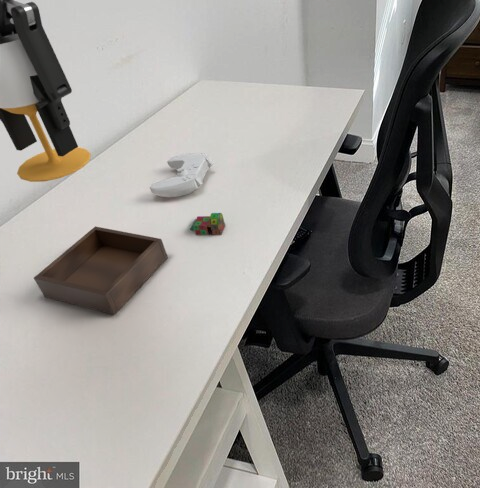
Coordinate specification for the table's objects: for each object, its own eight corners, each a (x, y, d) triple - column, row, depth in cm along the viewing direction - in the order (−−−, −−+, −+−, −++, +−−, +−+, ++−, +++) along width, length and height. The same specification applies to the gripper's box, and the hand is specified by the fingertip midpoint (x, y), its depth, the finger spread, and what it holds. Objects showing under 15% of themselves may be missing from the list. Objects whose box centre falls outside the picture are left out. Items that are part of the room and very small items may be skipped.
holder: (114, 315, 71) (105, 295, 68) (44, 297, 75) (33, 277, 72) (168, 257, 81) (161, 238, 78) (103, 244, 85) (95, 226, 82)
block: (226, 221, 88) (223, 205, 86) (221, 234, 85) (217, 218, 83) (195, 221, 88) (190, 205, 86) (188, 234, 85) (183, 219, 83)
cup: (104, 150, 66) (56, 25, 56) (60, 185, 59) (-4, 50, 49) (50, 146, 68) (-6, 25, 58) (1, 179, 61) (-71, 49, 51)
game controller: (168, 152, 104) (210, 142, 102) (177, 170, 107) (218, 160, 104) (143, 187, 93) (189, 177, 91) (154, 206, 95) (199, 196, 93)
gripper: (51, -71, 48) (126, 142, 62) (-82, -64, 53) (15, 129, 68) (-14, -60, 42) (85, 171, 56) (-153, -54, 48) (-32, 154, 62)
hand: (47, 148), depth 62 cm, fingers closed on cup, 6 cm apart
